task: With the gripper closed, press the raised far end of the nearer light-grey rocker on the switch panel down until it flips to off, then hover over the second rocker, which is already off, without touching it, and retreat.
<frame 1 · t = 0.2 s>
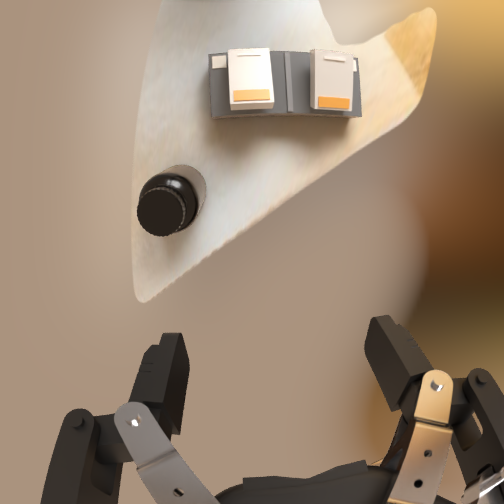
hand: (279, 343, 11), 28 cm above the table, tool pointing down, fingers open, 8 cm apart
rocker A: (250, 77, 25), point 6 cm above the table, hinge at -14.0°
supplement bottle: (182, 188, 36), on the table
rocker B: (331, 79, 25), point 6 cm above the table, hinge at 14.0°
switch panel: (283, 86, 31), on the table
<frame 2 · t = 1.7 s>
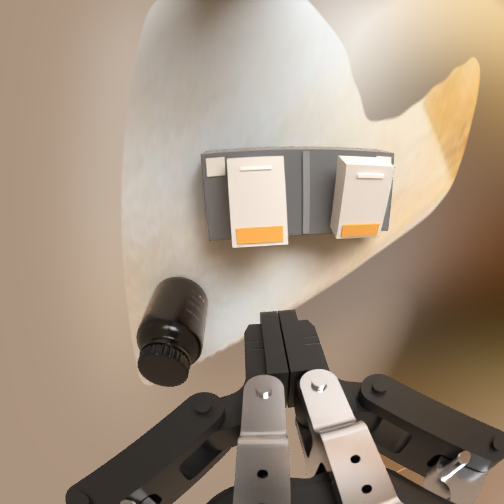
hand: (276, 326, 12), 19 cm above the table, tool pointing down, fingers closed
rocker A: (257, 201, 22), point 6 cm above the table, hinge at -14.0°
supplement bottle: (181, 297, 33), on the table
rocker B: (361, 198, 22), point 6 cm above the table, hinge at 14.0°
switch panel: (297, 184, 28), on the table
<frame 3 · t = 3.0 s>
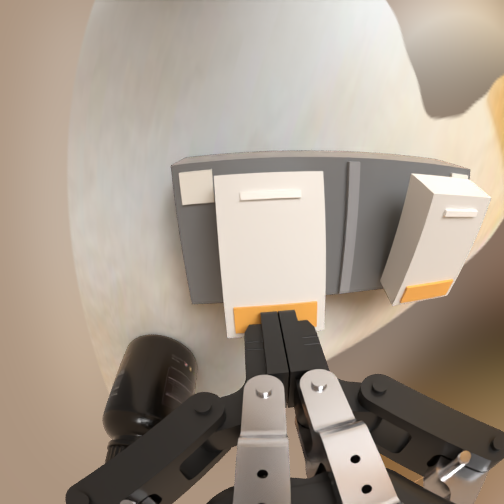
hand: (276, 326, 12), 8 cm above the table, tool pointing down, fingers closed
rocker A: (271, 254, 12), point 6 cm above the table, hinge at -13.8°, touching gripper
supplement bottle: (163, 356, 23), on the table
rocker B: (435, 243, 12), point 6 cm above the table, hinge at 14.0°
switch panel: (328, 210, 18), on the table
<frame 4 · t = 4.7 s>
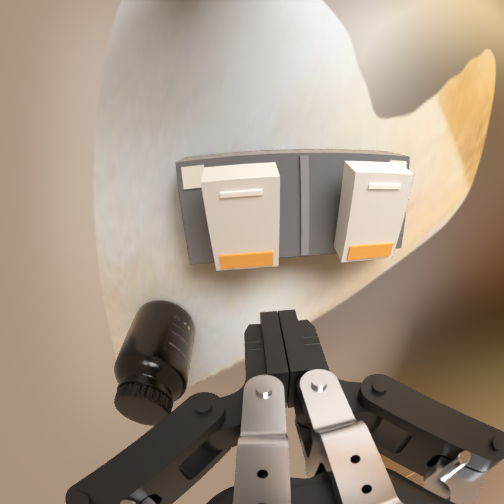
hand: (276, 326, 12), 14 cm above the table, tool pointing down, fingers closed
rocker A: (243, 220, 18), point 6 cm above the table, hinge at 17.8°
supplement bottle: (166, 322, 29), on the table
rocker B: (372, 213, 18), point 6 cm above the table, hinge at 14.0°
switch panel: (294, 194, 24), on the table
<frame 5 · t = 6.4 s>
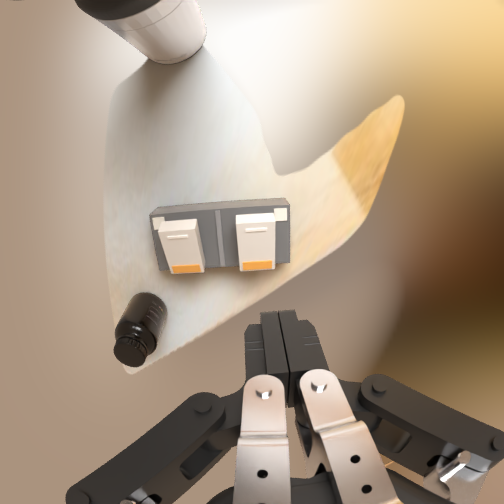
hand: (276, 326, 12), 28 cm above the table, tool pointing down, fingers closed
rocker A: (183, 248, 34), point 6 cm above the table, hinge at 19.0°
supplement bottle: (149, 307, 45), on the table
rocker B: (256, 243, 34), point 6 cm above the table, hinge at 14.0°
switch panel: (222, 229, 39), on the table
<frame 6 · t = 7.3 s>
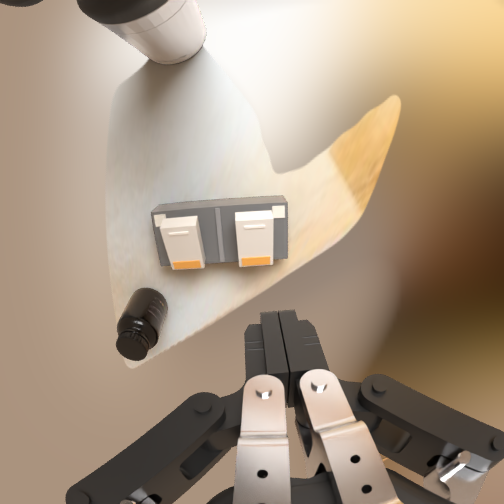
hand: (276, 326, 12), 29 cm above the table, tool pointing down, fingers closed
rocker A: (184, 244, 35), point 6 cm above the table, hinge at 17.8°
supplement bottle: (150, 302, 46), on the table
rocker B: (254, 239, 35), point 6 cm above the table, hinge at 14.0°
switch panel: (221, 225, 40), on the table
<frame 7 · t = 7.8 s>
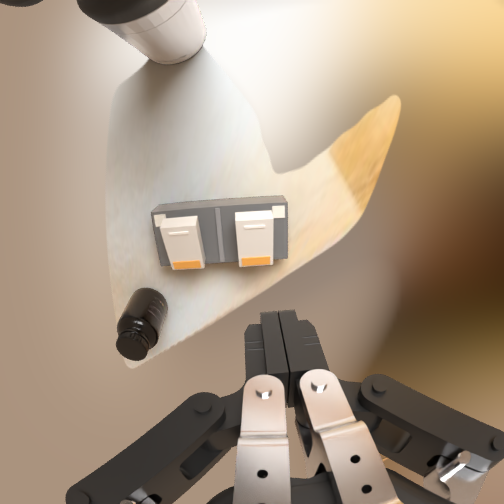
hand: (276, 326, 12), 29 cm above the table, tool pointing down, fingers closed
rocker A: (184, 244, 35), point 6 cm above the table, hinge at 17.5°
supplement bottle: (150, 302, 46), on the table
rocker B: (254, 239, 35), point 6 cm above the table, hinge at 14.0°
switch panel: (221, 225, 40), on the table
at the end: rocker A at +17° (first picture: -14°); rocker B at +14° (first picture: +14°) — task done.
